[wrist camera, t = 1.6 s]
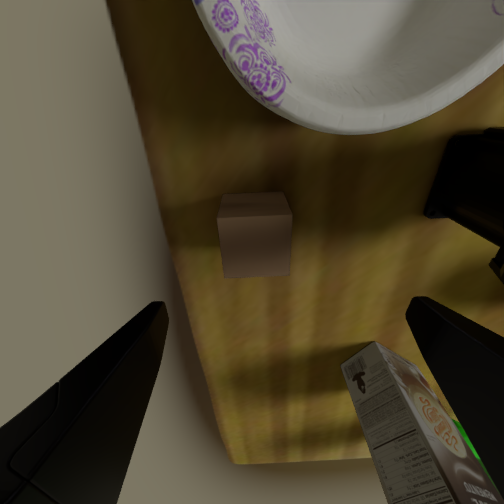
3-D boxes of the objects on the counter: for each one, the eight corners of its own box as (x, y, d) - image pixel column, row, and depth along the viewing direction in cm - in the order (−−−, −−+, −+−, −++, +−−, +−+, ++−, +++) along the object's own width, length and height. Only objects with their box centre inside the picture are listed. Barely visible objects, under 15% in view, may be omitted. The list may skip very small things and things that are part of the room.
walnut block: (281, 243, 23) (289, 275, 19) (228, 245, 23) (224, 278, 19) (282, 191, 20) (292, 214, 16) (222, 193, 20) (216, 218, 16)
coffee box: (418, 364, 33) (540, 549, 19) (381, 386, 36) (464, 563, 22) (373, 339, 30) (479, 536, 16) (336, 365, 33) (400, 553, 19)
